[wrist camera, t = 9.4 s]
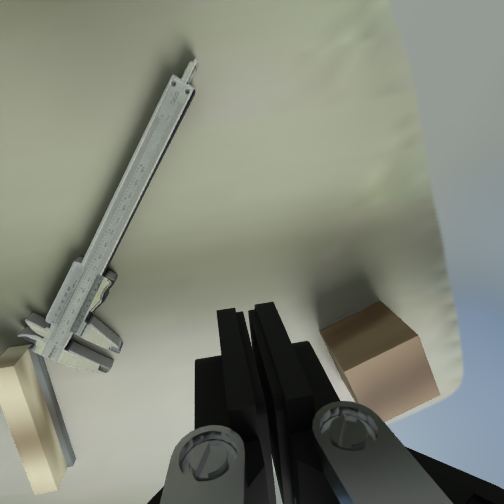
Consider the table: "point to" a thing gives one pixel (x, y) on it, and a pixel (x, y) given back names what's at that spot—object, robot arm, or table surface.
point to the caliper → (107, 247)
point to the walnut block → (381, 361)
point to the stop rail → (34, 418)
